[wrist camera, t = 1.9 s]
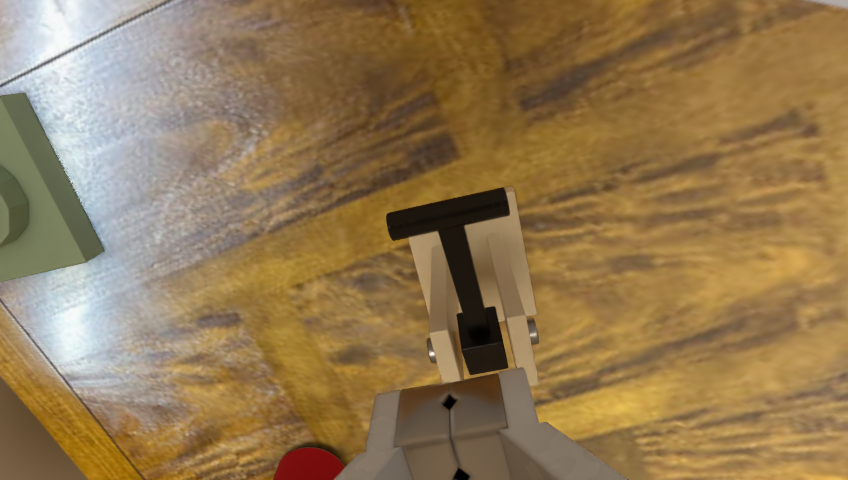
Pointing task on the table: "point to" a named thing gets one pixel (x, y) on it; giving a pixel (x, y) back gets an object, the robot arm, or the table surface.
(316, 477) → the beverage can
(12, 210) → the button housing
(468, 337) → the press lever
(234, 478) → the table surface
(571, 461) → the robot arm
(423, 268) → the lever bracket
